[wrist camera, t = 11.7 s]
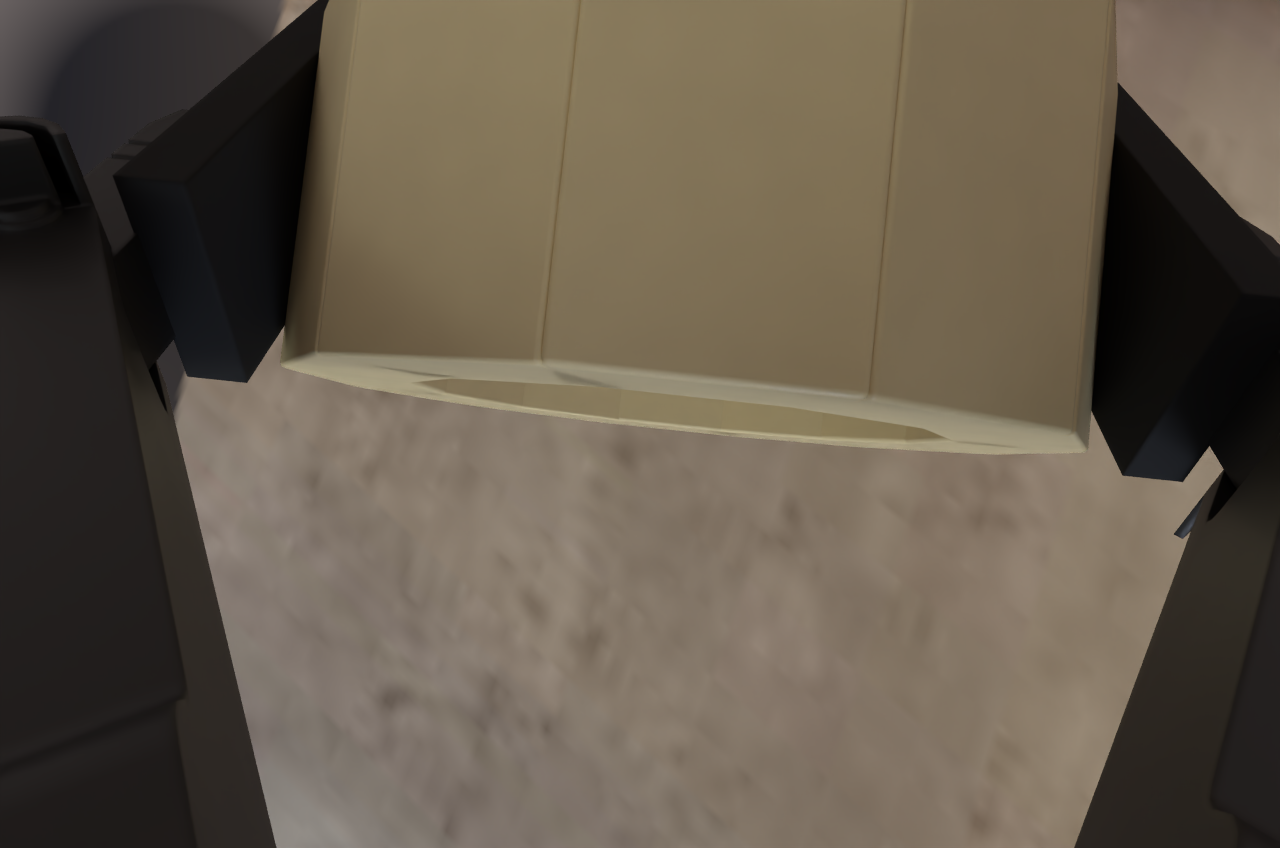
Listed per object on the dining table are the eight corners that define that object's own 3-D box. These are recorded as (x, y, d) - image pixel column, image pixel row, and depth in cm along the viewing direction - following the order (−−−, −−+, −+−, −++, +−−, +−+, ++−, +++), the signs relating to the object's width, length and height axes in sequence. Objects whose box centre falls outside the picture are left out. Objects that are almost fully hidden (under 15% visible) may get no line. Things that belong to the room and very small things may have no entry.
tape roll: (918, 456, 18) (1331, 449, 7) (415, 402, 18) (83, 317, 7) (939, 230, 19) (1369, -104, 8) (442, 177, 19) (158, -228, 8)
